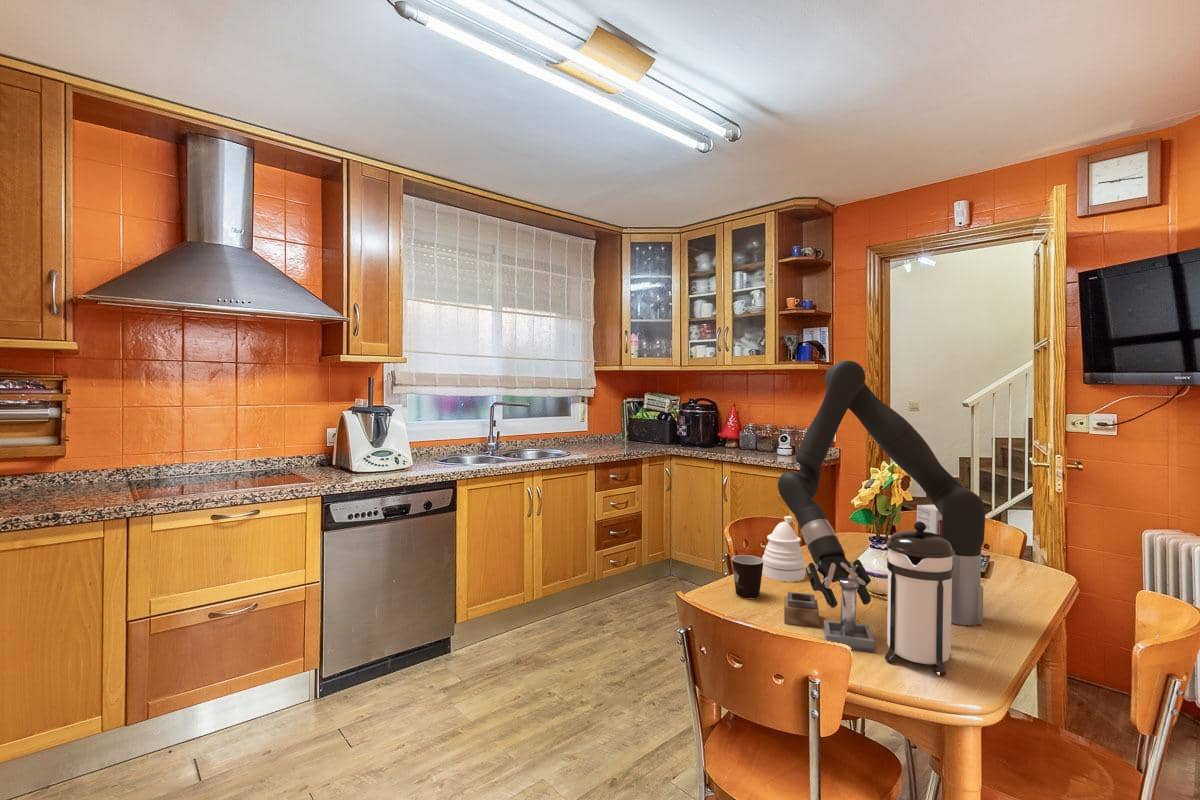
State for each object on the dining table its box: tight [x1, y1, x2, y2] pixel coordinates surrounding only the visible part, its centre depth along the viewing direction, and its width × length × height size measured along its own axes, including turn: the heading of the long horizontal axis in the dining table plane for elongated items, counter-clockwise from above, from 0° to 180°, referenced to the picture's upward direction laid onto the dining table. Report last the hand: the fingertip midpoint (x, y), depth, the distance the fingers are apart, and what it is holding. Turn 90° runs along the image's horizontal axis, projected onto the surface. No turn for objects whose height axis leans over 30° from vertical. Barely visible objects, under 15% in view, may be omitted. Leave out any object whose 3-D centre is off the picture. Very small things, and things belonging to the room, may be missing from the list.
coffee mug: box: [731, 554, 764, 599], centre depth 165 cm, size 12×9×10 cm
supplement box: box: [916, 504, 942, 536], centre depth 202 cm, size 10×9×17 cm
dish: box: [823, 619, 876, 653], centre depth 134 cm, size 10×9×2 cm
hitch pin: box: [838, 577, 859, 637], centre depth 134 cm, size 4×4×13 cm
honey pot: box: [761, 515, 806, 583], centre depth 180 cm, size 13×13×18 cm
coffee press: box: [884, 521, 955, 676], centre depth 126 cm, size 17×16×30 cm
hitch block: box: [783, 591, 820, 628], centre depth 147 cm, size 8×8×6 cm
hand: (851, 604), depth 133 cm, fingers open, 8 cm apart
